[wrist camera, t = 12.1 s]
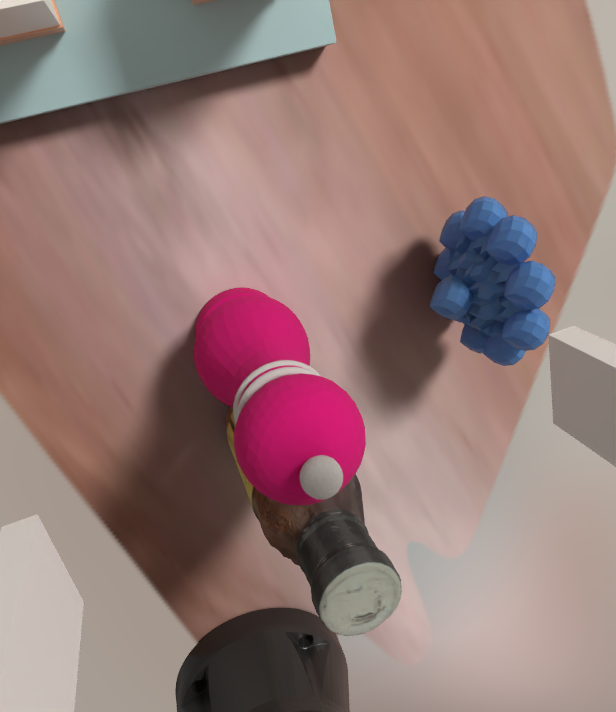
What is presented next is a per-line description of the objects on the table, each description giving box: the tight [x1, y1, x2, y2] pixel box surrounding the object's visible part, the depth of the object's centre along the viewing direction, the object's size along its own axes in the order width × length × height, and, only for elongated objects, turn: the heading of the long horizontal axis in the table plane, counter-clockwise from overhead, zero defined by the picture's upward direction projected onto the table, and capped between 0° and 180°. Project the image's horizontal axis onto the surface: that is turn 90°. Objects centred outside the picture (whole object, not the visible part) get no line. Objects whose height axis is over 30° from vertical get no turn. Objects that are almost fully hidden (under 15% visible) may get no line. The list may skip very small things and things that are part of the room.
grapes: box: [430, 196, 555, 366], centre depth 38 cm, size 12×7×12 cm, turn 15°
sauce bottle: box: [226, 407, 402, 636], centre depth 35 cm, size 7×6×20 cm
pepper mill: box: [194, 288, 366, 505], centre depth 32 cm, size 7×7×20 cm
